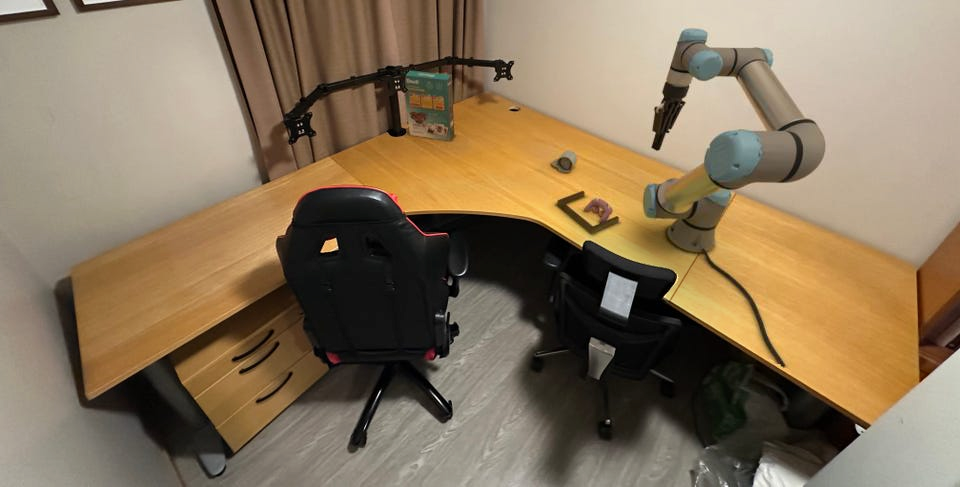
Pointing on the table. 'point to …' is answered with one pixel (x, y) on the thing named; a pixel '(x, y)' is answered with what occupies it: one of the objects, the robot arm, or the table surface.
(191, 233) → the table surface
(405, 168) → the table surface
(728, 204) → the robot arm
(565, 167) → the ceramic mug
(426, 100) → the cake mix box
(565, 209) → the holder
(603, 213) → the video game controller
